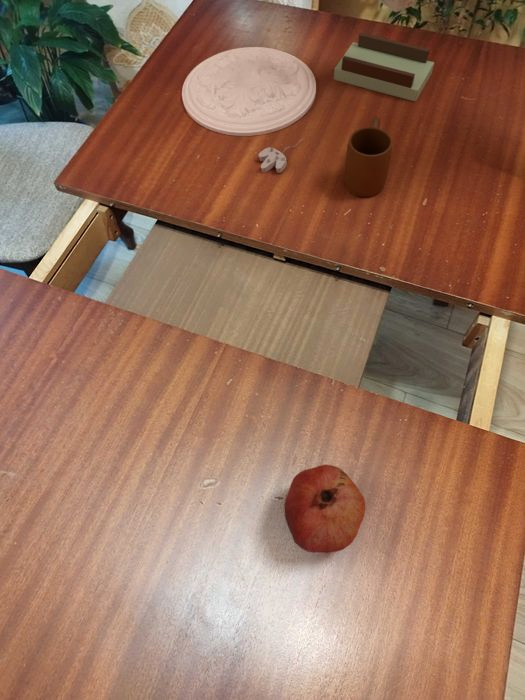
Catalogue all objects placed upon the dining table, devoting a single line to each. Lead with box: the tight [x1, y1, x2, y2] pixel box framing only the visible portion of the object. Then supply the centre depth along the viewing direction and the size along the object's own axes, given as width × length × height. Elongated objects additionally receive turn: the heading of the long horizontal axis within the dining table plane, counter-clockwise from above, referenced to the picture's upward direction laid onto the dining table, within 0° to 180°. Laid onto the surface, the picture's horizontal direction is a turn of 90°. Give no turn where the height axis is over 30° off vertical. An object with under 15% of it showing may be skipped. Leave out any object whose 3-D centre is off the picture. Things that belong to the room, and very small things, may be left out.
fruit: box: [283, 464, 366, 554], centre depth 66 cm, size 11×10×10 cm
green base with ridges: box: [333, 32, 435, 103], centre depth 112 cm, size 18×10×5 cm, turn 63°
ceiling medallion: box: [181, 46, 317, 137], centre depth 112 cm, size 28×28×3 cm
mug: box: [343, 115, 394, 198], centre depth 96 cm, size 12×8×9 cm, turn 166°
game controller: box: [258, 137, 307, 174], centre depth 103 cm, size 6×12×3 cm, turn 153°
